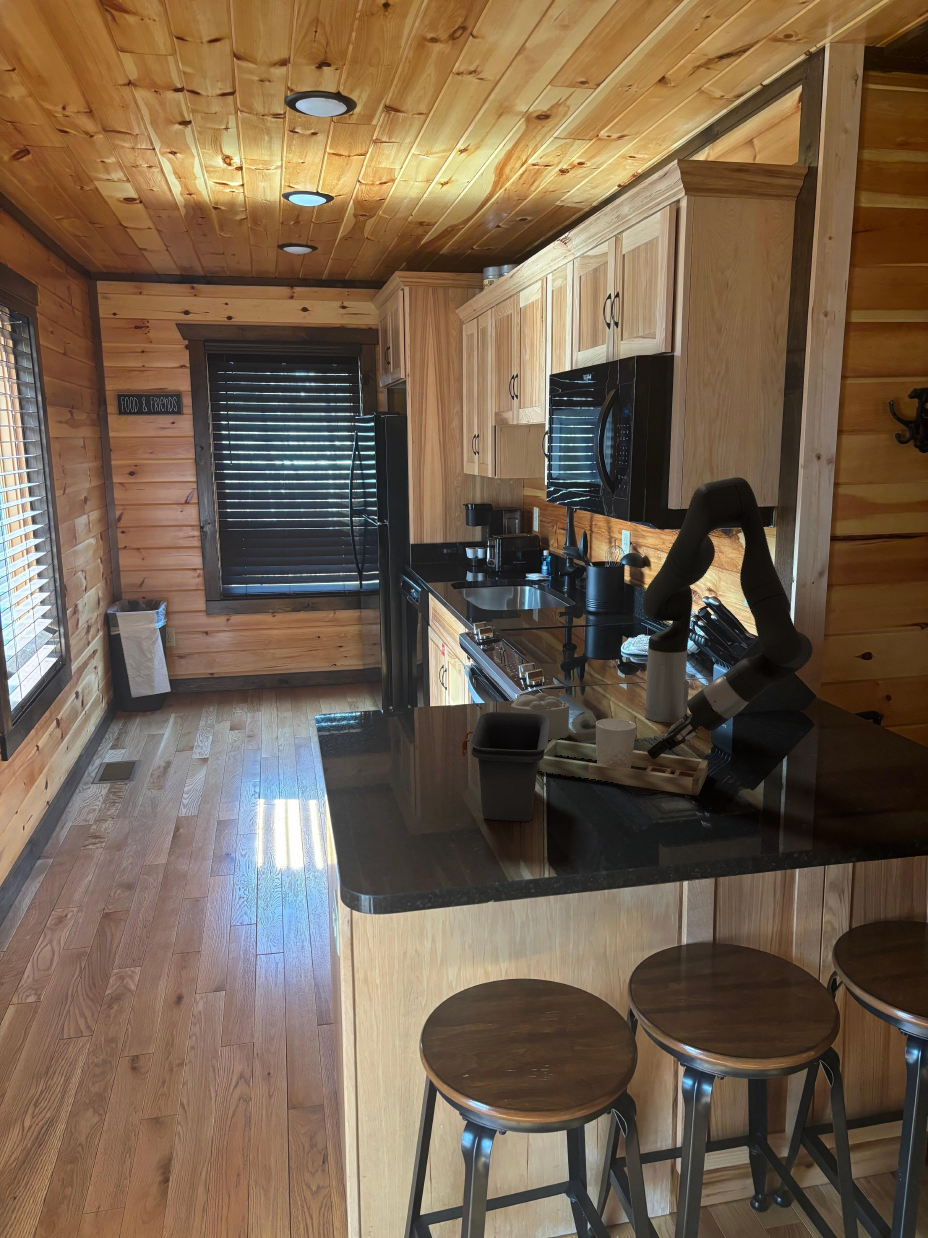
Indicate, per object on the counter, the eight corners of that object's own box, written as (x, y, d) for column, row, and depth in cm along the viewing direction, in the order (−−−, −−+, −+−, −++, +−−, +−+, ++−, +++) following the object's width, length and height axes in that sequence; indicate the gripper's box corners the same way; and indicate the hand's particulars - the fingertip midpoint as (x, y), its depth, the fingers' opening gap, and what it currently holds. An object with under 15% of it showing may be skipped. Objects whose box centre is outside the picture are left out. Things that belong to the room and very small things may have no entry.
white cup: (624, 781, 175) (627, 732, 173) (587, 773, 179) (589, 725, 177) (639, 769, 181) (641, 722, 180) (603, 762, 186) (605, 716, 184)
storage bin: (545, 830, 152) (547, 750, 149) (454, 825, 153) (455, 745, 151) (548, 785, 172) (550, 714, 170) (468, 781, 174) (469, 710, 172)
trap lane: (707, 774, 179) (708, 760, 178) (697, 795, 168) (698, 780, 167) (552, 752, 191) (552, 739, 191) (534, 770, 180) (534, 756, 180)
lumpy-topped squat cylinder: (515, 725, 211) (515, 689, 209) (570, 729, 208) (571, 693, 207) (508, 738, 201) (509, 701, 199) (566, 743, 198) (567, 705, 197)
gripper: (709, 679, 176) (644, 731, 183) (699, 695, 164) (630, 750, 171) (735, 708, 175) (669, 759, 182) (727, 727, 163) (657, 780, 170)
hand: (650, 754), depth 177 cm, fingers closed
